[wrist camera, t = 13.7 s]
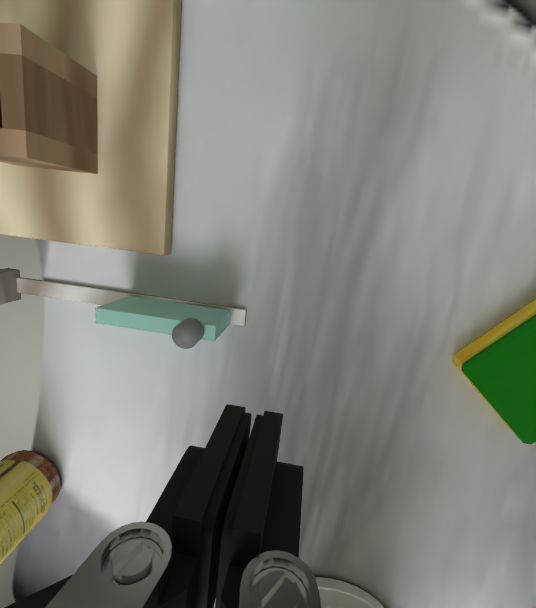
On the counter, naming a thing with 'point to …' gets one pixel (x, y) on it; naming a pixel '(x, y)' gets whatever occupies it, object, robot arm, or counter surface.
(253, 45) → the counter surface
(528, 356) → the dish sponge
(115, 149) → the seat
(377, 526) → the counter surface
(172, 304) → the bar
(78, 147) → the block
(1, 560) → the sauce bottle
